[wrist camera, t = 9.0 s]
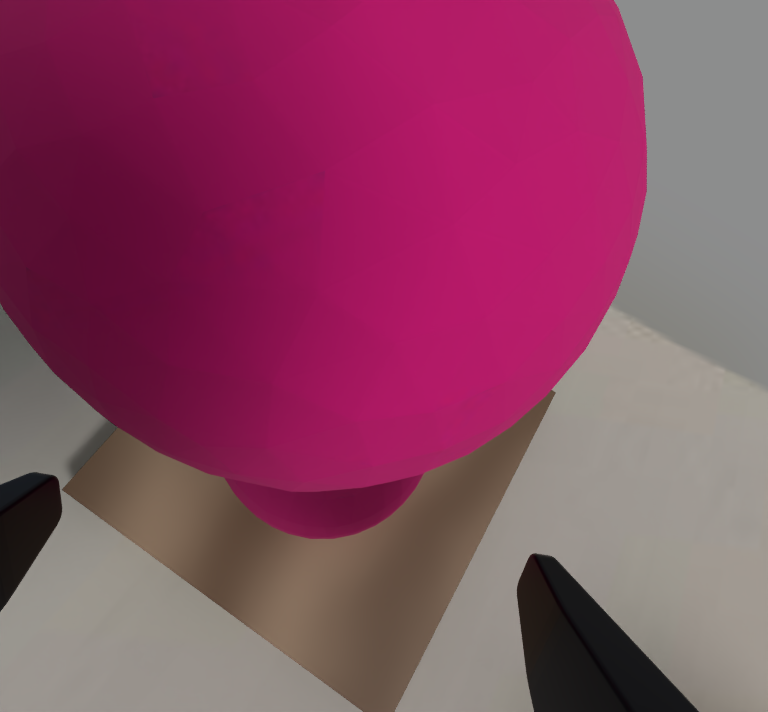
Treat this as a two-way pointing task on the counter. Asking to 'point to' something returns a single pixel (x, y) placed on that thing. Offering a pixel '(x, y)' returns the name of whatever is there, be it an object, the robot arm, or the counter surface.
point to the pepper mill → (316, 226)
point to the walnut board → (314, 556)
